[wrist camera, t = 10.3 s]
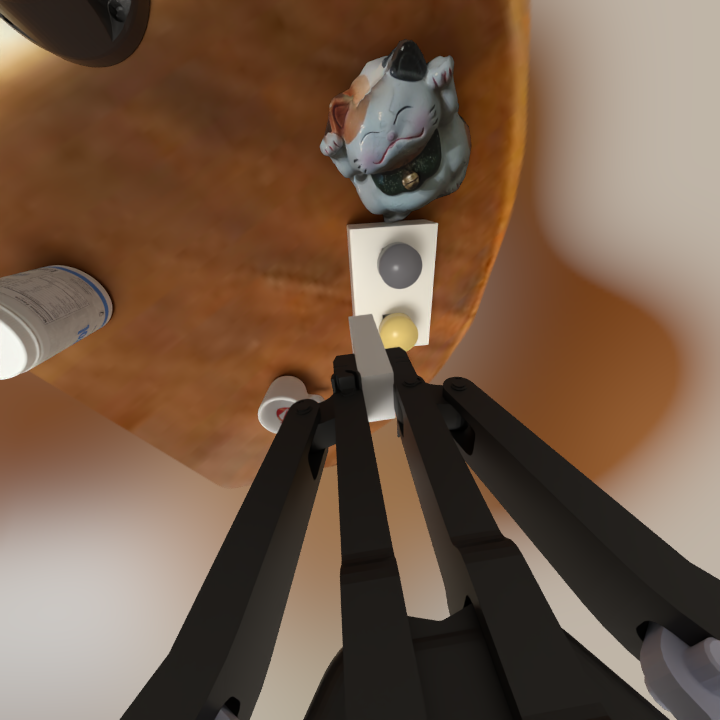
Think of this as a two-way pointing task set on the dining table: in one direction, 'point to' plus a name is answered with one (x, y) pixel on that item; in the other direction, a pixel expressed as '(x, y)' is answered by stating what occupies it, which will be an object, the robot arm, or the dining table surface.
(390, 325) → the knob far
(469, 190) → the dining table surface
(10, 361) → the supplement tub
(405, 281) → the knob near
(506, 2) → the dining table surface
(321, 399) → the cup
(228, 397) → the dining table surface
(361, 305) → the mount
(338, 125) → the lucky cat figurine
